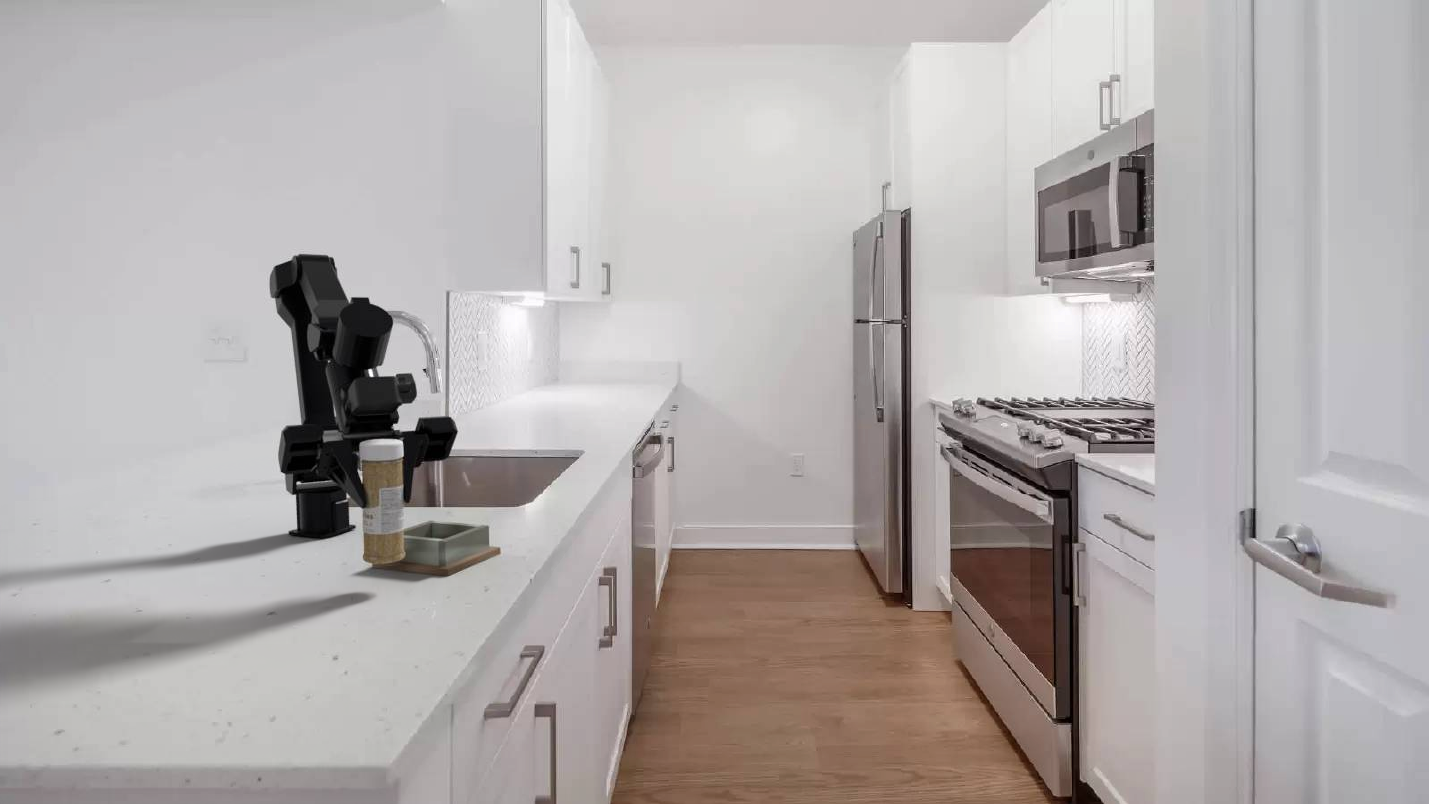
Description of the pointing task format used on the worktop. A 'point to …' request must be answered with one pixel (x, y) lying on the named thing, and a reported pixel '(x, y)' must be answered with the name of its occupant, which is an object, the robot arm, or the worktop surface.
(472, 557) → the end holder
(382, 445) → the sprinkles bottle
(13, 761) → the worktop surface
